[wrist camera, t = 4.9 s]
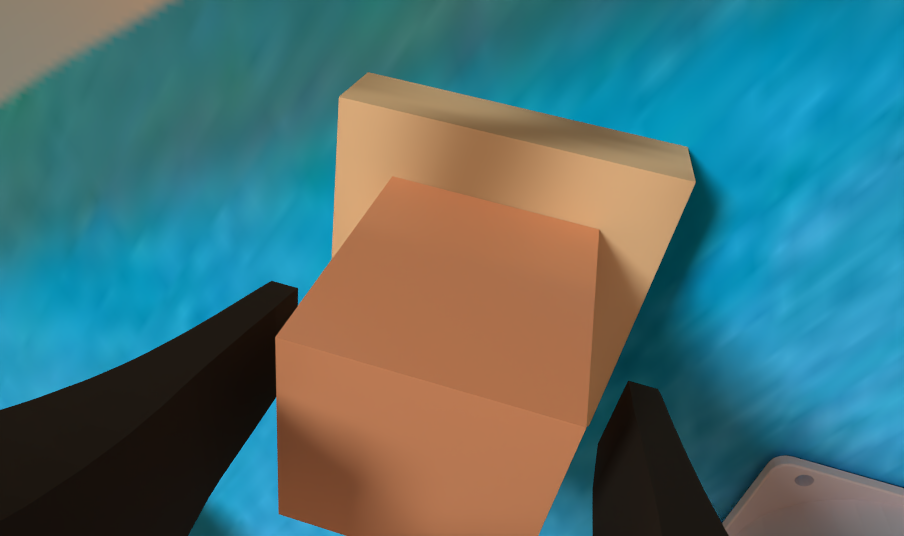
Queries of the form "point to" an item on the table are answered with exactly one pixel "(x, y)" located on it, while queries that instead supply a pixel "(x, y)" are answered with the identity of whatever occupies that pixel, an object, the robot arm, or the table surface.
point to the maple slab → (521, 182)
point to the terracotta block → (437, 370)
